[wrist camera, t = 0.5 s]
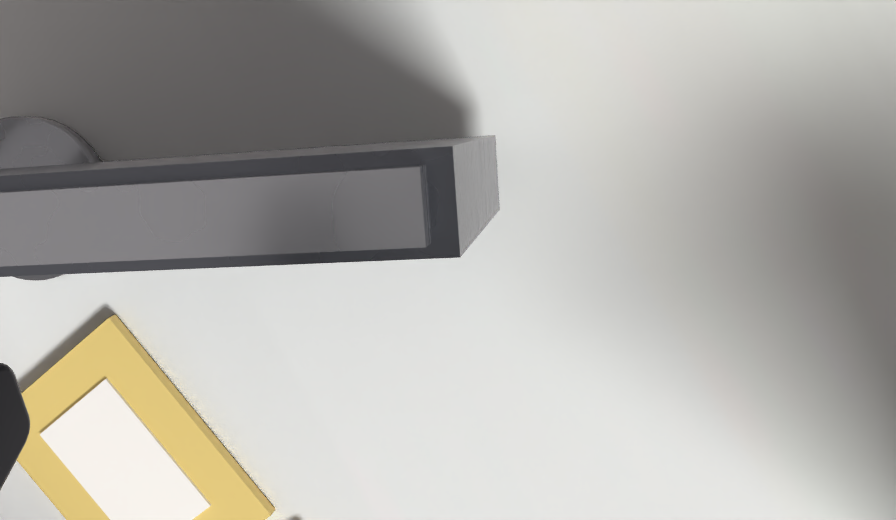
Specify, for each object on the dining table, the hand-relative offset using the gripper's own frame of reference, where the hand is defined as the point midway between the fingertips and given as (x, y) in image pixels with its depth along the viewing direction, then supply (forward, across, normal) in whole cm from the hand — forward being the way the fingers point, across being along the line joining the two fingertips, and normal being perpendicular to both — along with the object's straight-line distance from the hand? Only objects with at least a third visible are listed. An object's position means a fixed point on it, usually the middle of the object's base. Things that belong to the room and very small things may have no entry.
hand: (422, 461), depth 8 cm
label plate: (+11, +12, +14) cm, 21 cm away
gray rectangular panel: (+13, +8, +5) cm, 17 cm away
